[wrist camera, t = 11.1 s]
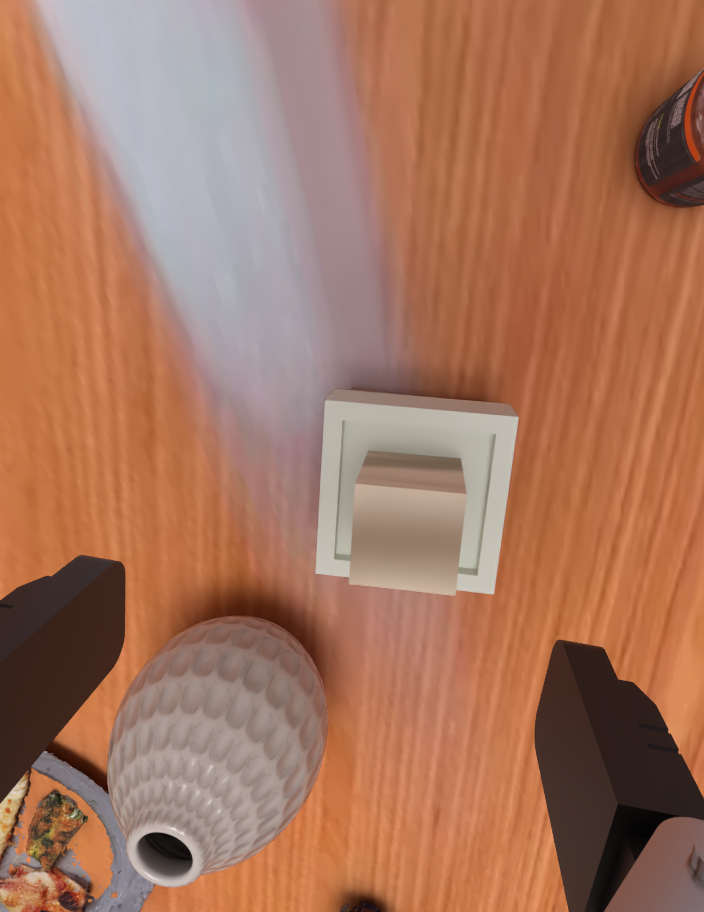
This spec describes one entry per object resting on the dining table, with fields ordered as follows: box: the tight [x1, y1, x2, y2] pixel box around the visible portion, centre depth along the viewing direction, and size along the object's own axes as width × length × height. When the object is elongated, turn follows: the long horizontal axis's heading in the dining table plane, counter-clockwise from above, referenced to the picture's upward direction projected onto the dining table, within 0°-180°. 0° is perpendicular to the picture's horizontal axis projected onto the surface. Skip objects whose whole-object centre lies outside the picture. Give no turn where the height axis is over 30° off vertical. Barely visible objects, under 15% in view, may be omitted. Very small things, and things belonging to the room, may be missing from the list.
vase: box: [107, 616, 328, 887], centre depth 38 cm, size 13×13×17 cm
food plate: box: [0, 751, 155, 912], centre depth 52 cm, size 25×23×4 cm
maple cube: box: [349, 450, 467, 596], centre depth 31 cm, size 5×5×6 cm
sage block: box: [315, 389, 519, 594], centre depth 35 cm, size 10×10×4 cm
